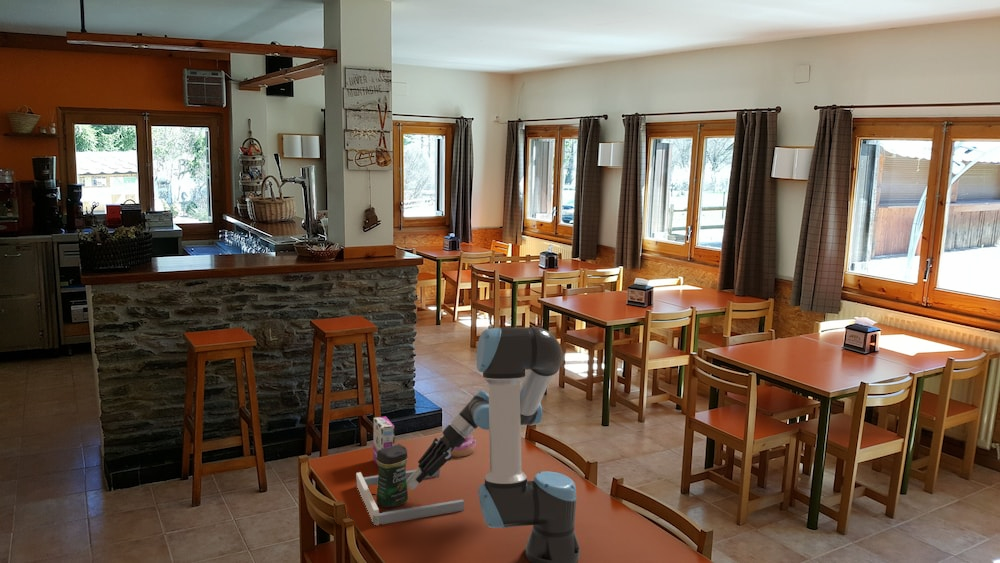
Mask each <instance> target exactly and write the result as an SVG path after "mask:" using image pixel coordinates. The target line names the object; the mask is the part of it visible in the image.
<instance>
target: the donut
mask: <svg viewBox="0 0 1000 563" xmlns="http://www.w3.org/2000/svg"><path fill="white" fill-rule="evenodd" d="M443 436H444V435H443V434H442V435H441V436H440V437H439V440H440V439H441V438H442V437H443ZM465 439H466V440H465V442H464V443H463V444H462V445H461V446H460V447H459V448H458V447H454V449H453V451H452V452H451V455H452V458H453V457H455V458H462V457H466V456H470V455H471V454H473V453H474V452H475V450H476V446H477V441H476V438H475V437H474V436H473V435H472V434H471V435H470V436H469V437H468V438H465Z"/></svg>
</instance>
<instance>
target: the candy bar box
mask: <svg viewBox="0 0 1000 563" xmlns="http://www.w3.org/2000/svg"><path fill="white" fill-rule="evenodd" d="M395 428H396V427H395V425H394V424H393V423H392V422H391V420H390V419H389V418H388V417H387V416H386V415H385V416H379V417H377V416H376V417H373V446H372V447H373V459H372V460H373V462H374V461H375V462H376V463H375V462H374V463H375V465H376V464H377V452H378V451H379V450H381V449H384V448H387V447H390V446H394V445H395V431H396V430H395ZM376 466H377V467H378V464H377V465H376Z"/></svg>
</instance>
